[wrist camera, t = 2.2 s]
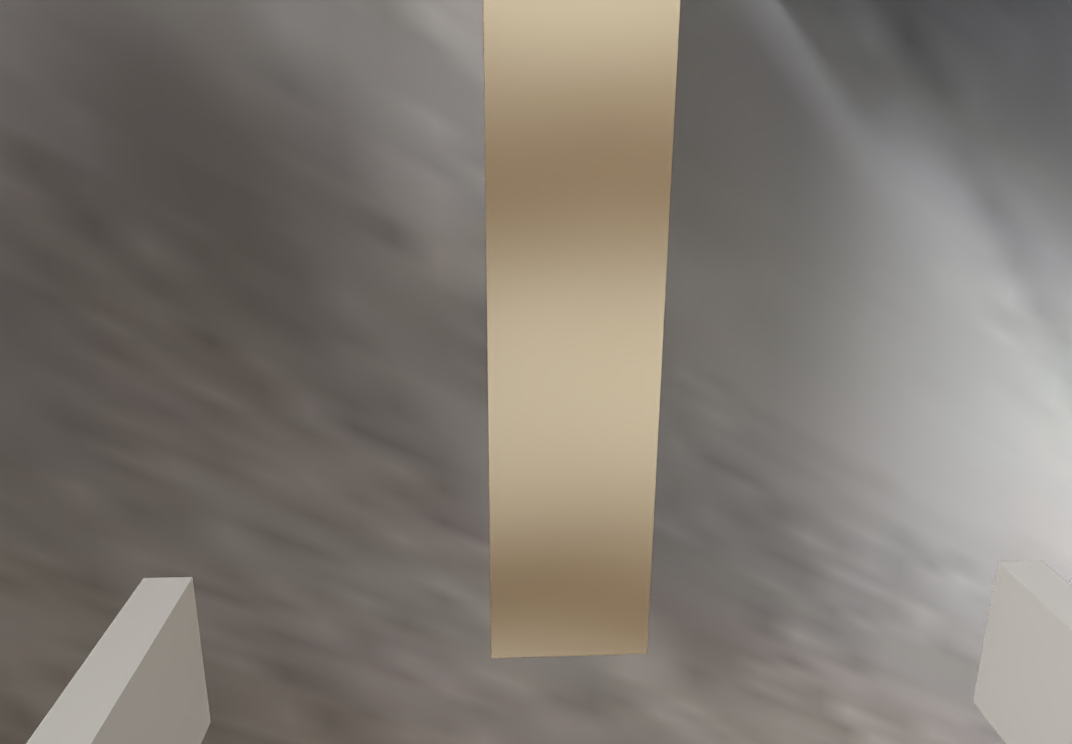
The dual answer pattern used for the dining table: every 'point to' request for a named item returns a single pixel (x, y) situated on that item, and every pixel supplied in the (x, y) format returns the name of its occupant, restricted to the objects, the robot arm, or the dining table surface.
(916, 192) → the dining table surface
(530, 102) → the maple board
